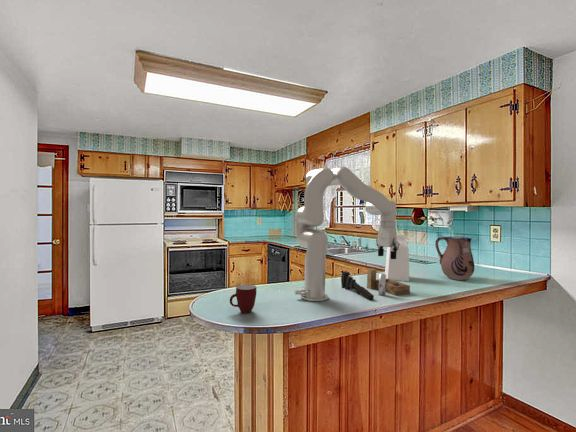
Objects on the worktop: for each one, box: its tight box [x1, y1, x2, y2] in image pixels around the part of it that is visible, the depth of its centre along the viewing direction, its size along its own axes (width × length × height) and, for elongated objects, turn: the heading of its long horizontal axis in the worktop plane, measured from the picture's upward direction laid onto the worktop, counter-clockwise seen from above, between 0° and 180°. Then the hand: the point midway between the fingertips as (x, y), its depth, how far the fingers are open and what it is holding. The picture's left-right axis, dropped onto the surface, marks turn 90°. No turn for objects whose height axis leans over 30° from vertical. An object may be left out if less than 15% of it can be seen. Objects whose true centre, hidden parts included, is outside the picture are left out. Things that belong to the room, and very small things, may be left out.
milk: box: [384, 234, 410, 282], centre depth 190 cm, size 12×12×26 cm
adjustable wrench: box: [340, 270, 375, 301], centre depth 157 cm, size 8×3×25 cm
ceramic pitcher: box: [435, 236, 475, 281], centre depth 192 cm, size 18×21×25 cm
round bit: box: [378, 273, 387, 297], centre depth 154 cm, size 3×3×10 cm
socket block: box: [376, 278, 411, 296], centre depth 162 cm, size 16×9×4 cm, turn 23°
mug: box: [229, 284, 257, 314], centre depth 126 cm, size 11×8×10 cm
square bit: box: [366, 268, 377, 290], centre depth 166 cm, size 3×3×10 cm
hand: (386, 257), depth 166 cm, fingers open, 9 cm apart
